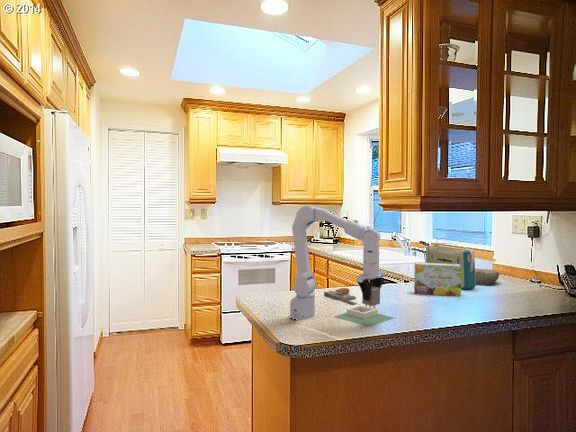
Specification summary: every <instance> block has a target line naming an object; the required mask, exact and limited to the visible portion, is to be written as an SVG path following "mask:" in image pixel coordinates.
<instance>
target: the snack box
mask: <svg viewBox="0 0 576 432" xmlns="http://www.w3.org/2000/svg"><path fill="white" fill-rule="evenodd" d="M461 272H462V266H461V265H459V264H442V263H425V262H419V261H418V262H417V261H416V262H414V276H413V277H414V281H413V282H414V283H413V286H414V287H413V288H414V289H413V290H414V291H413V292H414V294H415V295H417V294H418V295H433V296H447V297H449V296H451V297H461V295H462V289H461Z"/></svg>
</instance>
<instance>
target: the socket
mask: <svg viewBox="0 0 576 432" xmlns="http://www.w3.org/2000/svg"><path fill="white" fill-rule="evenodd" d="M346 313H347V315H350V316H354V317H358V318H361V319H367V318H370V317H373V316H376V315H377V313H379V311H378V308H377V309H376V308H375V309H374V308H372V307H371V308H369V307H368V306H367V307H365V305H362V304H360V305H359V304H358V305H356V306H353V307H349V308H346Z"/></svg>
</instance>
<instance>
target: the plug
mask: <svg viewBox="0 0 576 432" xmlns="http://www.w3.org/2000/svg"><path fill="white" fill-rule="evenodd" d="M361 294H362V293H361ZM361 298H362V302H361V303H362V304H363V305H365V304H366V305H367V306H369V305H370V306H371V307H373V306H374V305H375V306H377V305H380V304H381V288H380V289H379V288H378V287H373V286H372V287H371V292H370V300H369V301H367V300H364V298H363V294H362V296H361ZM362 304H361V305H362Z"/></svg>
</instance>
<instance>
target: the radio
mask: <svg viewBox="0 0 576 432" xmlns="http://www.w3.org/2000/svg"><path fill="white" fill-rule="evenodd" d="M435 239H436V240H438V239H439V238H438V237H436V238H435ZM445 244H451V245H453V243H452V242H441V243H435V244H433V245H427V246H426V248H425V259H424V261H425V262H424V263H442V264H459V265H461V266H462V272H461V291H464V290H471V289H472V290H473V289H475V288H476V286H477V285H476V279H475V269H476V263H475V262H476V261H475V251H474V250H472V249H470V248H468V247H465V246H463V245H459V244H458V247H459V246H460V247H462V248H464V249H462V248H454V247H446V246H441V245H445ZM454 245H456V246H457V244H456V243H454Z"/></svg>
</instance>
